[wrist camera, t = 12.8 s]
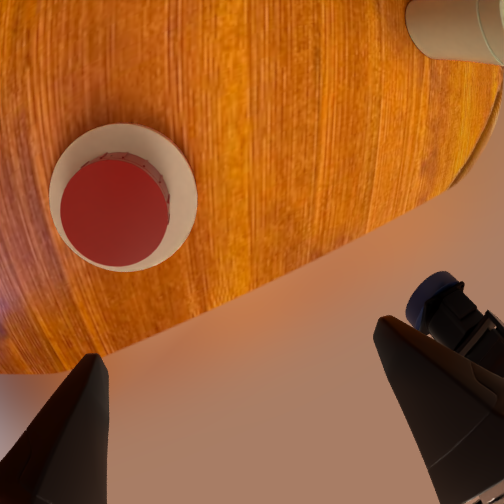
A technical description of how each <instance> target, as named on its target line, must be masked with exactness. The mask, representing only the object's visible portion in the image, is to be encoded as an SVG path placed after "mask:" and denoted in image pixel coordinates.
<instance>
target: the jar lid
mask: <svg viewBox="0 0 504 504" xmlns="http://www.w3.org/2000/svg"><path fill="white" fill-rule="evenodd" d="M80 168H81V169H80V170H79V171H78V172H76V173H75V175H74V176H73V177H72V178H71V179H70V181H69V182H68V183H67V185H66V187H65V189H64V192H63V195H62V198H61V203H60V218H61V223H62V226H63V229H64V232H65V234H66V236H67V238H68V240H69V241H70V243H71V244H72V245H73V246H74V248H75V249H76V250H77V251H78V252H79V253H81V254H82V255H83V256H85V257H86V258H88V259H89V260H91V261H93V262H96V263H98V264H101V265H105V266H112V267H123V266H129V265H132V264H136V263H138V262H140V261H142V260H144V259H145V258H147V257H148V256H150V255H151V254H152V253H153V252H154V251H155V250H156V249H157V247H158V246H159V245H160V243H161V242H162V240H163V238H164V235H165V233H166V229H167V225H169V219H170V214H169V207H170V194H169V193H168V189H167V186H166V183H165V181H164V179H163V175H161V174H160V173H159V172H158V170H157V169H156V168H155V167H154V166H153V165H152V164H150V163H149V162H148V160H145V159H143V158H141V157H139V156H137V155H134V154H130V153H129V152H126V153H125V152H113V153H108V152H106V153H105V154H103V155H101V156H98V157H96V158H95V159H93V160H91V161H90V162H89V161H88V162H86V163H85V164H84V165H83V166H81V167H80Z"/></svg>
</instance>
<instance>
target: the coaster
mask: <svg viewBox="0 0 504 504" xmlns="http://www.w3.org/2000/svg"><path fill="white" fill-rule="evenodd" d="M106 152H108V153H113V152H125V153H126V152H129V153H130V154H134V155H137V156H139V157H141V158H143V159H145V160H148V162H149V163H150V164H152V165H153V166H154V167H155V168H156V169H157V170H158V172H159V173H160V174H161V175H163V179H164V181H165V183H166V186H167V189H168V193H169V194H170V207H169V214H170V219H169V225H167V229H166V233H165V235H164V238H163V240H162V242H161V243H160V245H159V246H158V247H157V249H156V250H155V251H154V252H153V253H152V254H151V255H150V256H148V257H147V258H145V259H144V260H142V261H140V262H138V263H136V264H132V265H129V266H123V267H112V266H105V265H101V264H98V263H96V262H93V261H91V260H89V259H88V258H86V257H85V256H83V255H82V254H81V253H79V252H78V251H77V250H76V249H75V248H74V246H73V245H72V244H71V243H70V241H69V240H68V238H67V236H66V234H65V232H64V229H63V226H62V223H61V218H60V203H61V198H62V195H63V192H64V189H65V187H66V185H67V183H68V182H69V181H70V179H71V178H72V177H73V176H74V175H75V173H76V172H78V171H79V170H80V169H81V168H80V167H81V166H83V165H84V164H85V163H86V162H88V161H89V162H90V161H91V160H93V159H95V158H96V157H98V156H101V155H103V154H105V153H106ZM49 205H50V211H51V215H52V219H53V222H54V224H55V226H56V229H57V231H58V233H59V234H60V236H61V237H62V239H63V240H64V242H65V243H66V244H67V245H68V247H69V248H70V249H71V250H72V251H73V252H74V253H76V254H77V255H78V256H80V257H81V258H82V259H84V260H85V261H87V262H89V263H91V264H93V265H95V266H97V267H100V268H103V269H107V270H112V271H120V272H131V271H138V270H143V269H147V268H150V267H152V266H155V265H157V264H159V263H161V262H163V261H164V260H166V259H167V258H169V257H170V256H171V255H172V254H174V253H175V252H176V251H177V250H178V249H179V248H180V246H181V245H182V244H183V243H184V241H185V240H186V238H187V237H188V235H189V233H190V231H191V229H192V226H193V224H194V220H195V217H196V211H197V188H196V181H195V178H194V174H193V171H192V169H191V166H190V164H189V162H188V160H187V159H186V157H185V155H184V154H183V152H182V151H181V150H180V149H179V148H178V146H177V145H176V144H175V143H174V142H172V141H171V140H170V139H169V138H168V137H166V136H165V135H163V134H162V133H160V132H159V131H157V130H155V129H153V128H150V127H147V126H144V125H141V124H136V123H126V122H119V123H111V124H106V125H103V126H100V127H97V128H95V129H92V130H90V131H88V132H86V133H85V134H83V135H81V136H80V137H78V138H77V139H76V140H75V141H73V142H72V143H71V144H70V145H69V146H68V147H67V149H66V150H65V151H64V152H63V154H62V155H61V157H60V158H59V160H58V162H57V164H56V166H55V168H54V171H53V174H52V177H51V182H50V187H49Z"/></svg>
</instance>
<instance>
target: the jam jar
mask: <svg viewBox="0 0 504 504" xmlns="http://www.w3.org/2000/svg"><path fill="white" fill-rule="evenodd" d="M405 19H406V25H407V29H408V32H409V35H410V37H411V39H412V40H413V42H414V44H415V45H416V46H417V48H418V49H419V50H420V51H421V52H422V53H423V54H425V55H426V56H428V57H430V58H432V59H436V60H451V61H464V62H474V63H482V64H490V65H497V66H503V67H504V0H412V1H411V2H410V3H409V4H408V6H407V9H406V14H405Z"/></svg>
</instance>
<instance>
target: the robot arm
mask: <svg viewBox="0 0 504 504" xmlns="http://www.w3.org/2000/svg"><path fill="white" fill-rule="evenodd" d="M464 286H465V283H464V282H463V281H460V282H459V283H457V284H455V285H453V286H452V287H450V288H448V289H446V290H444V291H443V292H441V293H439V294H437V295H435V296H433V297H431V298H430V299H428V300H426V301H425V303H424V308H423V313H422V318H421V323H420V328H419V331H418V330H416V329H414V328H413V327H411V326H409V325H407V324H406V323H404V322H402V321H400V320H399V319H397V318H395V317H393V316H391V315H387V316H383V317H380V318H379V320H378V322H377V325H376V328H375V331H374V334H373V340H374V343H375V346H376V348H377V351H378V354H379V357H380V359H381V362H382V365H383V368H384V371H385V373H386V376H387V378H388V381H389V383H390V385H391V387H392V389H393V391H394V394H395V396H396V398H397V400H398V402H399V404H400V407H401V409H402V411H403V413H404V415H405V418H406V420H407V422H408V424H409V427H410V429H411V431H412V434H413V436H414V438H415V441H416V443H417V445H418V448H419V450H420V452H421V455H422V457H423V460H424V462H425V465H426V467H427V469H428V473H429V475H430V478H431V480H432V483H433V486H434V488H435V491H436V494H437V496H438V499H439V502H440V504H464V503H466V502H468V501H470V500H472V499H474V498H475V497H477V496H479V497H480V499H478V500H477V501H476V502H474V503H473V504H504V324H503V323H502V322H501V320H499V318H498V317H496V316H495V315H494V314H493V313H491V312H490V311H489V310H487V311H486V312H485V315H484V316H483V314H482V313H481V312H480V311H478V309H477V306H476V305H475V304H474V303H473V302H472V301H471V300H470V299H469V298H468V297H467V296H466V295H465V294H464V293H463V290H464ZM495 326H496V327H497V328H496V329H495V328H494V327H495ZM428 334H430V335H431V336H432V337H433V338H434V339H432V338H430V337H428V336H427V335H428ZM108 430H109V375H108V371H107V368H106V367H105V365H104V363H103V361H102V359H101V357H100V355H99V354H97V353H88V354H86V355H85V356H84V357H83V358H82V359H81V360H80V362H79V363H78V364H77V365H76V366H75V368H74V369H73V370H72V371H71V372H70V374H69V375H68V376H67V378H66V379H65V380H64V381H63V382H62V384H61V385H60V386H59V387H58V389H57V390H56V391H55V392H54V394H53V395H52V396H51V397H50V399H49V400H48V401H47V402H46V404H45V405H44V406H43V408H42V409H41V410H40V412H39V413H38V414H37V416H36V417H35V418H34V419H33V421H32V422H31V423H30V425H29V426H28V427H27V431H24V433H23V434H22V435H21V437H20V438H19V439H18V441H17V442H16V443H15V445H14V446H13V447H12V449H11V450H10V451H9V452H8V453H7V454H6V456H5V457H4V458H3V459H2V460H1V462H0V504H107V448H108V447H107V446H108Z"/></svg>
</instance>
